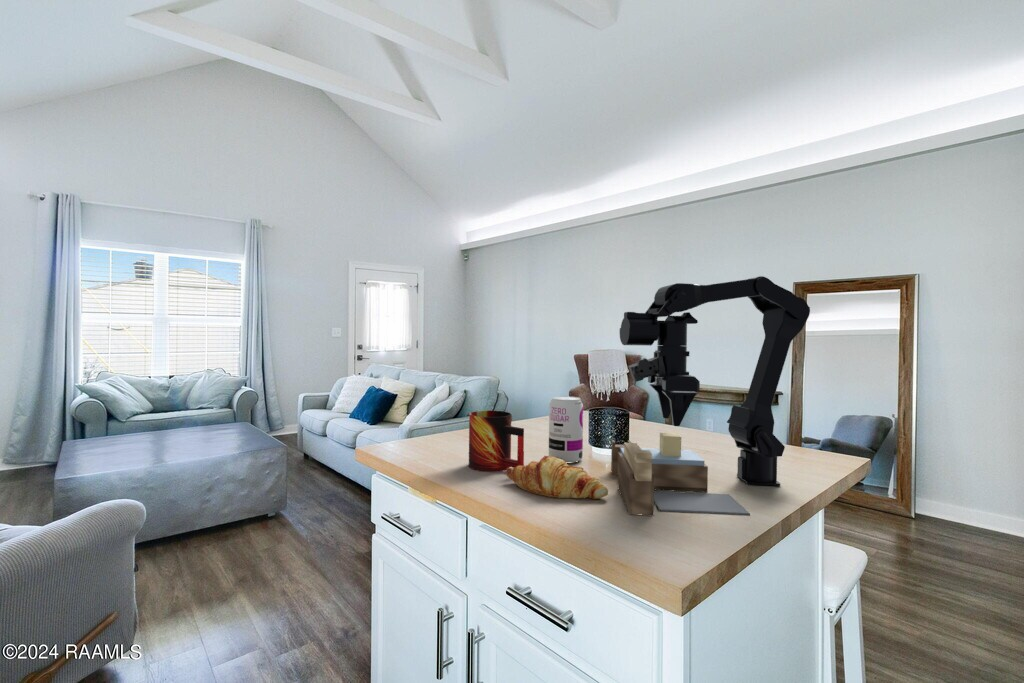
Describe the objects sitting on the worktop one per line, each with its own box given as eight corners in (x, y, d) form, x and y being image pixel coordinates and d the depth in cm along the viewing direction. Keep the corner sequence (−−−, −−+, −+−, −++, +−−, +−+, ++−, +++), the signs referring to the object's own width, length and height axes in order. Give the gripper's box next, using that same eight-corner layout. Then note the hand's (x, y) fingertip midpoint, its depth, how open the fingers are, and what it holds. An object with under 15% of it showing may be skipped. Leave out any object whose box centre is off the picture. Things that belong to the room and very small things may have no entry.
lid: (691, 454, 103) (691, 431, 103) (704, 465, 94) (704, 440, 94) (620, 452, 104) (620, 429, 104) (626, 462, 95) (626, 437, 95)
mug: (522, 475, 103) (523, 419, 103) (462, 469, 107) (463, 415, 107) (532, 464, 112) (533, 412, 112) (477, 459, 116) (477, 409, 116)
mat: (728, 495, 91) (728, 494, 91) (749, 514, 81) (750, 513, 81) (648, 492, 93) (648, 490, 93) (659, 510, 83) (659, 509, 83)
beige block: (636, 458, 93) (636, 434, 93) (651, 481, 78) (651, 453, 78) (623, 457, 94) (624, 434, 93) (636, 480, 79) (636, 452, 79)
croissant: (611, 514, 90) (618, 472, 93) (598, 504, 82) (606, 458, 85) (511, 494, 100) (520, 456, 103) (490, 482, 92) (501, 442, 95)
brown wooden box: (689, 474, 105) (690, 442, 105) (733, 519, 79) (734, 477, 79) (611, 471, 107) (611, 439, 107) (628, 514, 81) (629, 473, 81)
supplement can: (581, 456, 120) (582, 396, 120) (583, 465, 112) (584, 400, 112) (548, 455, 121) (549, 395, 121) (548, 463, 113) (549, 399, 113)
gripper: (625, 344, 108) (624, 413, 109) (639, 346, 90) (638, 429, 90) (676, 345, 107) (675, 415, 108) (701, 347, 89) (699, 431, 89)
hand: (670, 421), depth 99 cm, fingers open, 9 cm apart
